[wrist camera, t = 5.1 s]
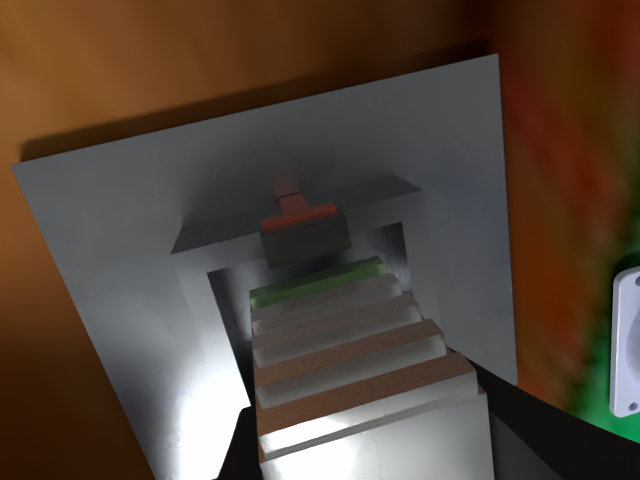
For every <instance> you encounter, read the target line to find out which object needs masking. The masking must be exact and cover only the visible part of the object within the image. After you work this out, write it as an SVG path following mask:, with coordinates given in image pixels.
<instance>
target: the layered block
mask: <svg viewBox="0 0 640 480" xmlns="http://www.w3.org/2000/svg"><path fill="white" fill-rule="evenodd" d="M249 299H250V316H251V332H252V349H253V366H254V383H255V400H256V416H257V433H258V450H259V464H260V467H261V470H262V473H263V476H264V479H265V480H494V470H493V459H492V448H491V437H490V426H489V415H488V404H487V394H486V392H485V391H484V390H483V389H482V387H481V386H480V385H479V384H478V383H477V375H476V370H475V369H474V368H473V366H472V365H471V364H470V363H469V362H468V361H467V359H466V358H465V357H464V356H463V355H462V354H461V352H460V351H458V352H454V353H453V352H452V351H451V350H450V349H449V348H448V346H447V345H446V344H445V339H444V333H443V331H442V330H441V329H440V328H439V327H438V326H437V324H436V323H435V322H434V321H433V320H432V319H431V318H430V319H426V320H425V318H424V317H423V316H422V315H421V314H420V307H419V303H418V302H417V301H416V300H415V299H414V298H413V296H412V295H411V294H410V293H406V294H404V293H403V292H402V291H401V286H400V281H399V280H398V279H397V278H396V277H395V275H394V274H393V273H392V272H391V273H387V272H386V271H385V266H384V263H383V261H382V260H381V259H380V258H379V257H378V256H374V257H371V258H367V259H363V260H359V261H356V262H352V263H348V264H345V265H341V266H337V267H333V268H330V269H326V270H322V271H319V272H315V273H311V274H307V275H304V276H300V277H296V278H293V279H289V280H285V281H282V282H278V283H274V284H270V285H267V286H263V287H259V288H256V289H252V290H249Z"/></svg>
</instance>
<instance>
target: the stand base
mask: <svg viewBox="0 0 640 480" xmlns="http://www.w3.org/2000/svg"><path fill="white" fill-rule="evenodd" d="M10 167H11V169H12V171H13V173H14V175H15V178H16V180H17V182H18V184H19V186H20V188H21V190H22V193H23V195H24V197H25V199H26V201H27V203H28V205H29V208H30V210H31V212H32V214H33V216H34V218H35V221H36V223H37V225H38V227H39V229H40V231H41V233H42V236H43V238H44V240H45V242H46V244H47V246H48V249H49V251H50V253H51V255H52V257H53V259H54V261H55V264H56V266H57V268H58V270H59V272H60V274H61V277H62V279H63V281H64V283H65V285H66V287H67V289H68V292H69V294H70V296H71V298H72V300H73V302H74V305H75V307H76V309H77V311H78V313H79V315H80V317H81V320H82V322H83V324H84V326H85V328H86V330H87V333H88V335H89V337H90V339H91V341H92V343H93V345H94V348H95V350H96V352H97V354H98V356H99V358H100V361H101V363H102V365H103V367H104V369H105V371H106V373H107V376H108V378H109V380H110V382H111V384H112V386H113V389H114V391H115V393H116V395H117V397H118V399H119V401H120V404H121V406H122V408H123V410H124V412H125V414H126V416H127V419H128V421H129V423H130V425H131V427H132V429H133V432H134V434H135V436H136V438H137V440H138V442H139V444H140V447H141V449H142V451H143V453H144V455H145V457H146V460H147V462H148V464H149V466H150V468H151V470H152V472H153V475H154V477H155V479H156V480H211V479H214V478H217V477H218V474H219V472H220V469H221V466H222V464H223V461H224V459H225V456H226V453H227V450H228V447H229V444H230V441H231V438H232V435H233V432H234V429H235V425H236V422H237V418H238V415H239V413H240V411H241V409H242V408H245V407H248V406H252V405H255V404H256V400H255V383H254V366H253V349H252V332H251V316H250V299H249V290H252V289H256V288H259V287H263V286H267V285H270V284H274V283H278V282H282V281H285V280H289V279H293V278H296V277H300V276H304V275H307V274H311V273H315V272H319V271H322V270H326V269H330V268H333V267H337V266H341V265H345V264H348V263H352V262H356V261H359V260H363V259H367V258H371V257H374V256H378V257H379V258H380V259H381V260H382V261H383V263H384V266H385V271H386V272H387V273H391V272H392V273H393V274H394V275H395V277H396V278H397V279H398V280H399V281H400V286H401V291H402V292H403V293H404V294H406V293H410V294H411V295H412V296H413V298H414V299H415V300H416V301H417V302H418V303H419V307H420V314H421V315H422V316H423V317H424V318H425V320H426V319H430V318H431V319H432V320H433V321H434V322H435V323H436V324H437V326H438V327H439V328H440V329H441V330H442V331H443V333H444V339H445V344H446V345H447V346H448V347H450V348H452V349H453V350H455V351H457V352H458V351H460V352H461V354H462V355H463V356H465V357H467V358H468V359H470V360H472V361H473V362H475V363H477V364H478V365H480V366H481V367H483V368H485V369H486V370H488V371H490V372H492V373H493V374H495V375H497V376H498V377H500V378H502V379H503V380H505V381H507V382H509V383H511V384H512V385H518V382H517V365H516V348H515V331H514V314H513V298H512V281H511V264H510V247H509V230H508V213H507V196H506V180H505V163H504V146H503V129H502V112H501V95H500V78H499V62H498V53H497V54H490V55H485V56H481V57H477V58H472V59H468V60H463V61H459V62H455V63H450V64H446V65H442V66H437V67H433V68H429V69H424V70H420V71H415V72H411V73H407V74H402V75H398V76H394V77H389V78H385V79H380V80H376V81H372V82H367V83H363V84H359V85H354V86H350V87H345V88H341V89H337V90H332V91H328V92H324V93H319V94H315V95H311V96H306V97H302V98H297V99H293V100H289V101H284V102H280V103H276V104H271V105H267V106H262V107H258V108H254V109H249V110H245V111H241V112H236V113H232V114H228V115H223V116H219V117H214V118H210V119H206V120H201V121H197V122H193V123H188V124H184V125H179V126H175V127H171V128H166V129H162V130H158V131H153V132H149V133H144V134H140V135H136V136H131V137H127V138H123V139H118V140H114V141H110V142H105V143H101V144H96V145H92V146H88V147H83V148H79V149H75V150H70V151H66V152H61V153H57V154H53V155H48V156H44V157H40V158H35V159H31V160H27V161H22V162H18V163H15V164H12V165H10Z"/></svg>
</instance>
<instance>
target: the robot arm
mask: <svg viewBox="0 0 640 480" xmlns="http://www.w3.org/2000/svg"><path fill="white" fill-rule="evenodd" d="M636 279H637V280H636ZM448 348H449V349H450V350H451V351H452V352H453V353H454V352H457V351H455V350H453V349H452V348H450V347H448ZM464 357H465V356H464ZM465 358H466V359H467V361H468V362H469V363H470V364H471V365H472V366H473V368H474V369H475V370H476V375H477V383H478V384H479V385H480V386H481V387H482V389H483V390H484V391H485V392H486V394H487V404H488V415H489V426H490V437H491V448H492V459H493V470H494V480H640V444H639V443H637V442H634V441H631V440H629V439H626V438H624V437H621V436H619V435H616V434H614V433H612V432H609V431H607V430H604V429H602V428H600V427H597V426H595V425H592V424H590V423H588V422H586V421H583V420H581V419H579V418H577V417H575V416H572V415H570V414H568V413H566V412H564V411H562V410H560V409H558V408H556V407H554V406H552V405H550V404H548V403H546V402H544V401H542V400H540V399H538V398H536V397H534V396H532V395H530V394H529V393H527V392H525V391H523V390H521V389H519V388H518V387H516V386H514V385H512V384H511V383H509V382H507V381H505V380H503V379H502V378H500V377H498V376H497V375H495V374H493V373H492V372H490V371H488V370H486V369H485V368H483V367H481V366H480V365H478V364H477V363H475V362H473V361H472V360H470V359H468V358H467V357H465ZM609 408H610V411H611V412H612V413H613V414H614V415H615V416H617V417H625V416H628V415H631V414H634V413H637V412H640V266H638V267H635V268H631V269H628V270H624V271H622V272H620V273H619V274H618V275H617V276H616V277H615V279H614V284H613V314H612V345H611V375H610V405H609ZM216 480H265V479H264V476H263V473H262V470H261V467H260V464H259V450H258V433H257V416H256V404H255V405H252V406H248V407H245V408H242V409H241V411H240V413H239V415H238V418H237V422H236V425H235V429H234V432H233V435H232V438H231V441H230V444H229V447H228V450H227V453H226V456H225V459H224V461H223V464H222V466H221V469H220V472H219V474H218V477H217V479H216Z"/></svg>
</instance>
